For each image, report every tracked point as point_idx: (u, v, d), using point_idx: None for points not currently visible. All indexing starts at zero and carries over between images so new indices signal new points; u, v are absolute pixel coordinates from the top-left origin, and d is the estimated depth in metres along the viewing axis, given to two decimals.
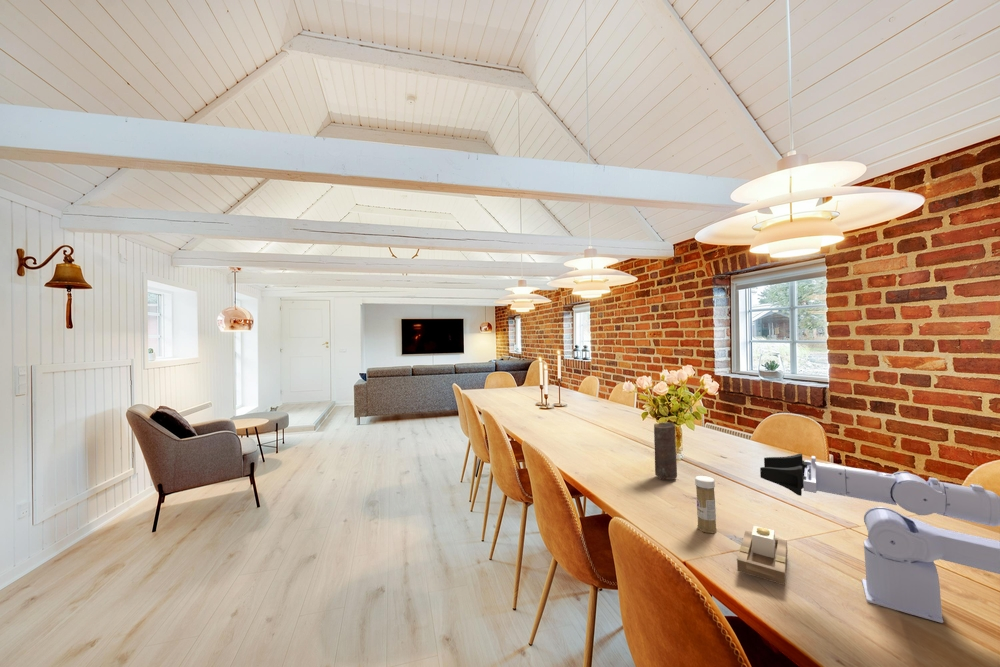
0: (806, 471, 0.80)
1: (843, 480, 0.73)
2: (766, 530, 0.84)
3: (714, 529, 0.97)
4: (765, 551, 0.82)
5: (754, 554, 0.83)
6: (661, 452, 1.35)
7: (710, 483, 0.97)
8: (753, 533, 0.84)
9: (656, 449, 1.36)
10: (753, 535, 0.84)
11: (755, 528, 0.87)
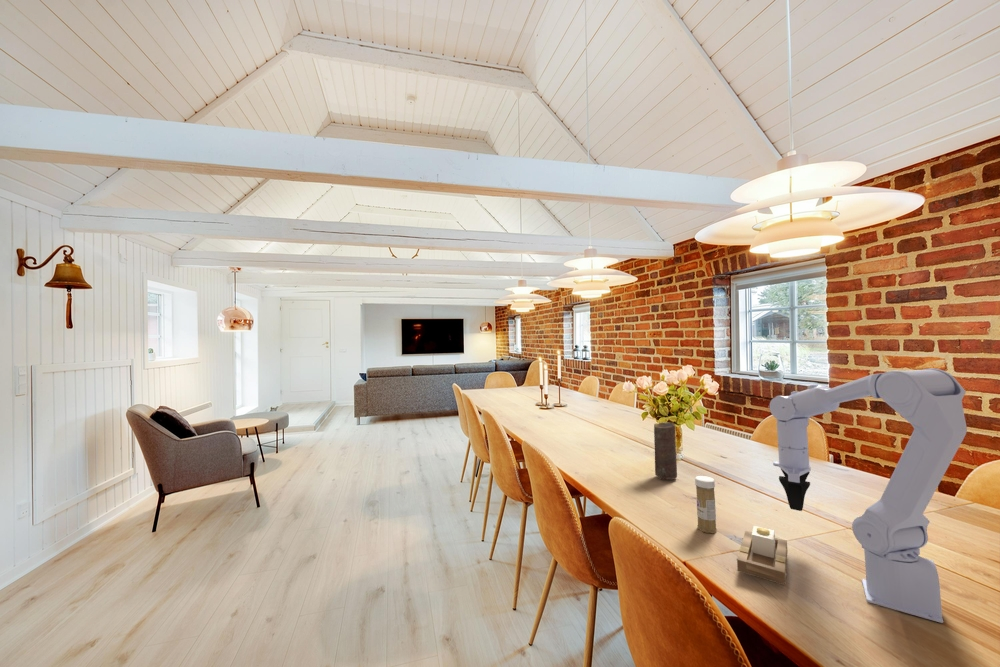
0: None
1: (787, 449, 0.88)
2: (766, 530, 0.84)
3: (714, 529, 0.97)
4: (765, 551, 0.82)
5: (754, 554, 0.83)
6: (661, 452, 1.35)
7: (710, 483, 0.97)
8: (753, 533, 0.84)
9: (656, 449, 1.36)
10: (753, 535, 0.84)
11: (755, 528, 0.87)
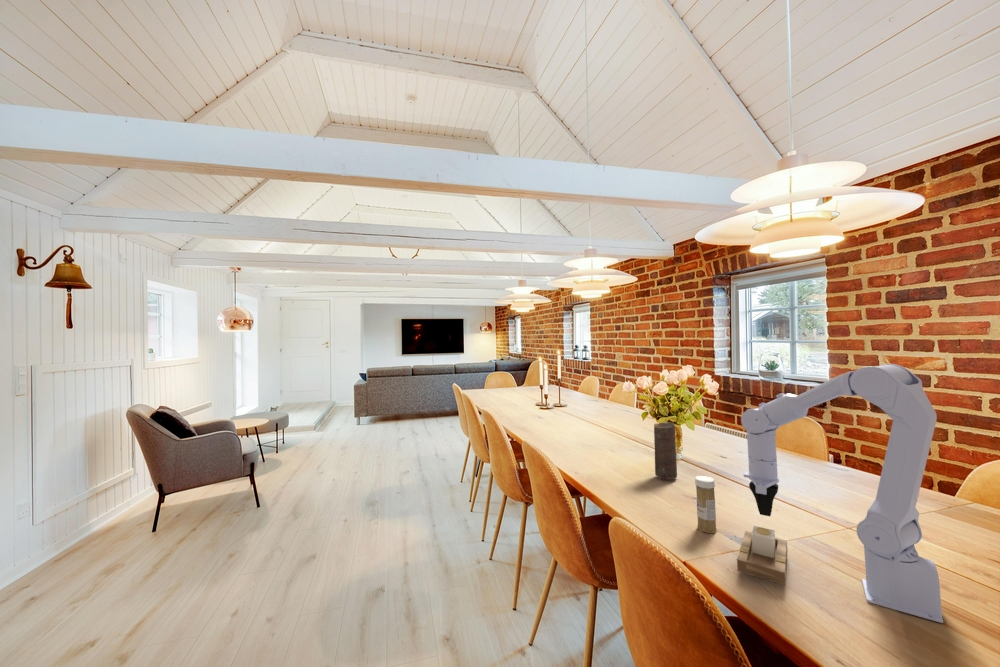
0: None
1: (756, 461, 0.90)
2: (766, 530, 0.84)
3: (714, 529, 0.97)
4: (765, 551, 0.82)
5: (754, 554, 0.83)
6: (661, 452, 1.35)
7: (710, 483, 0.97)
8: (753, 533, 0.84)
9: (656, 449, 1.36)
10: (753, 535, 0.84)
11: (755, 528, 0.87)
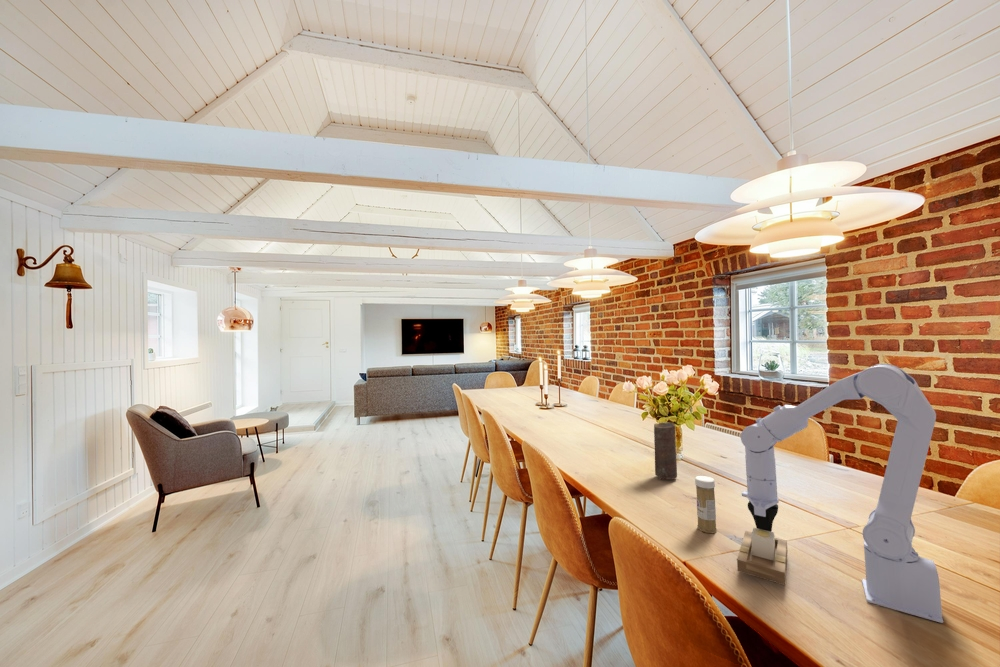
0: None
1: (755, 480, 0.86)
2: (766, 532, 0.84)
3: (714, 529, 0.97)
4: (765, 553, 0.81)
5: None
6: (661, 452, 1.35)
7: (710, 483, 0.97)
8: (753, 535, 0.83)
9: (656, 449, 1.36)
10: (753, 537, 0.83)
11: (755, 530, 0.86)
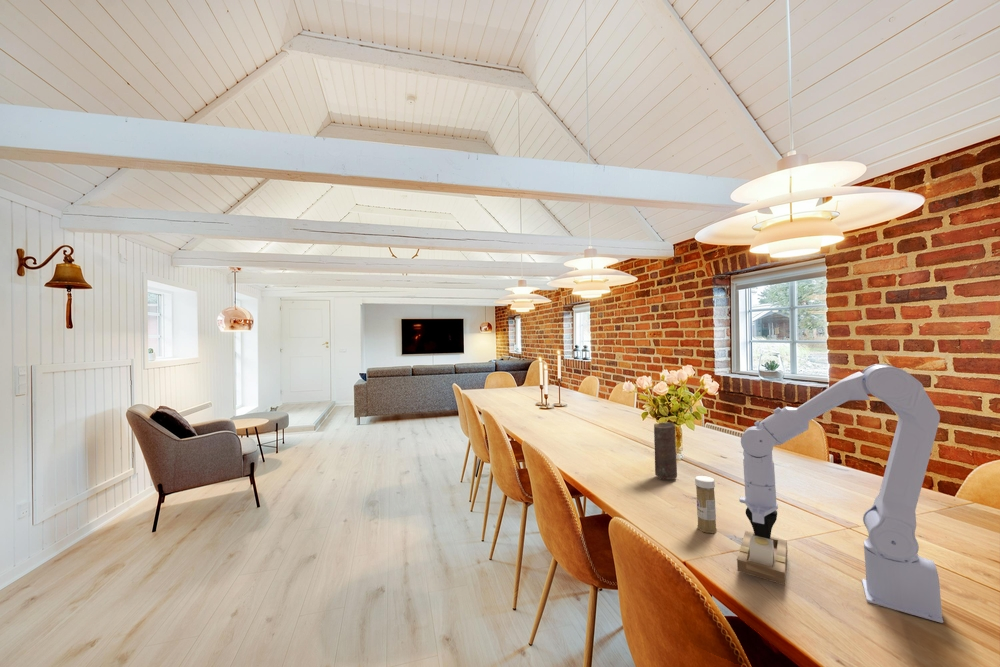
0: None
1: (753, 486, 0.82)
2: (764, 540, 0.80)
3: (714, 529, 0.97)
4: (763, 562, 0.78)
5: None
6: (661, 452, 1.35)
7: (710, 483, 0.97)
8: (751, 543, 0.80)
9: (656, 449, 1.36)
10: (751, 545, 0.80)
11: (753, 537, 0.82)
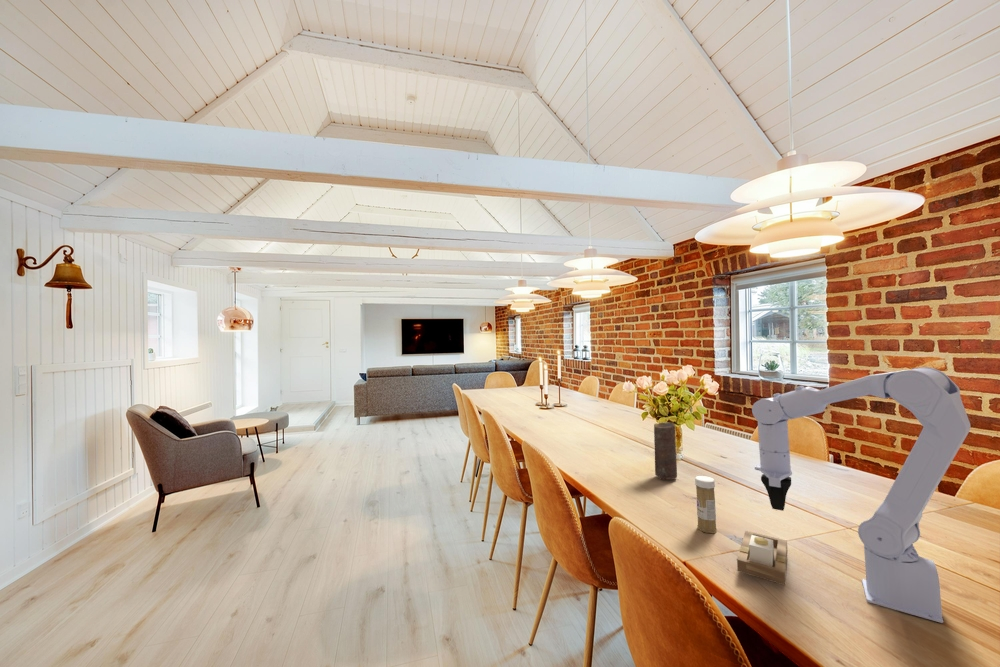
0: None
1: (768, 453, 0.86)
2: (764, 540, 0.80)
3: (714, 529, 0.97)
4: (763, 562, 0.78)
5: None
6: (661, 452, 1.35)
7: (710, 483, 0.97)
8: (751, 543, 0.80)
9: (656, 449, 1.36)
10: (751, 545, 0.80)
11: (753, 537, 0.82)
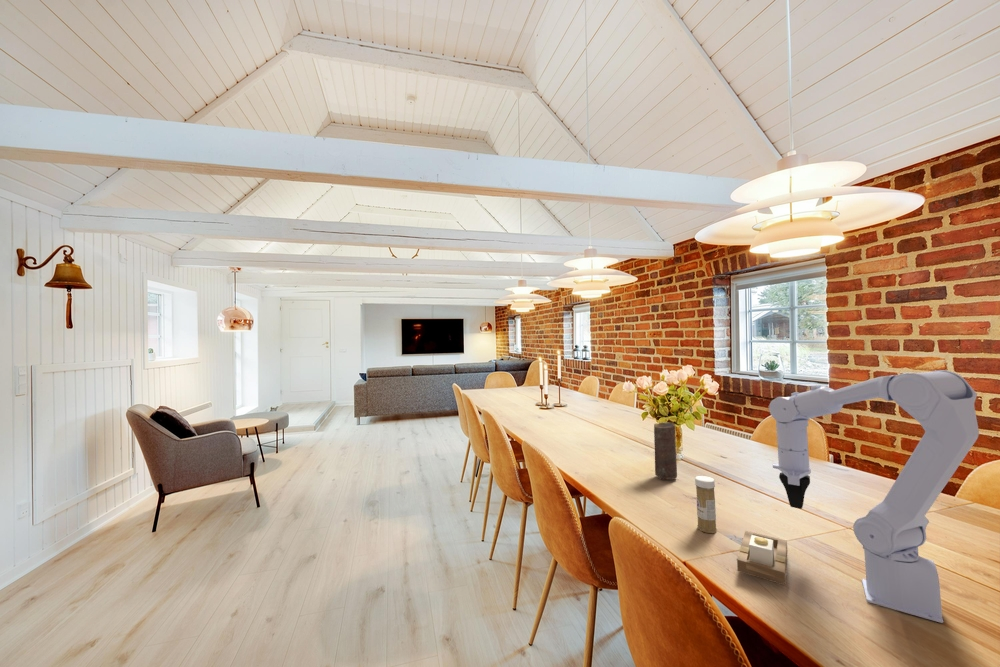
0: None
1: (787, 451, 0.87)
2: (764, 540, 0.80)
3: (714, 529, 0.97)
4: (763, 562, 0.78)
5: None
6: (661, 452, 1.35)
7: (710, 483, 0.97)
8: (751, 543, 0.80)
9: (656, 449, 1.36)
10: (751, 545, 0.80)
11: (753, 537, 0.82)
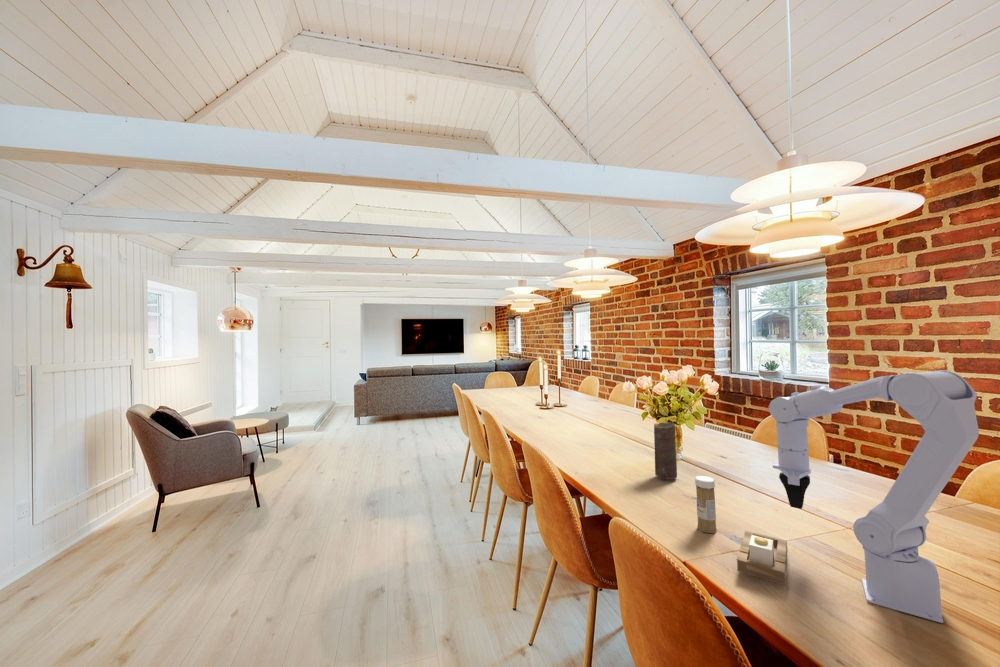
0: None
1: (787, 451, 0.87)
2: (764, 540, 0.80)
3: (714, 529, 0.97)
4: (763, 562, 0.78)
5: None
6: (661, 452, 1.35)
7: (710, 483, 0.97)
8: (751, 543, 0.80)
9: (656, 449, 1.36)
10: (751, 545, 0.80)
11: (753, 537, 0.82)
